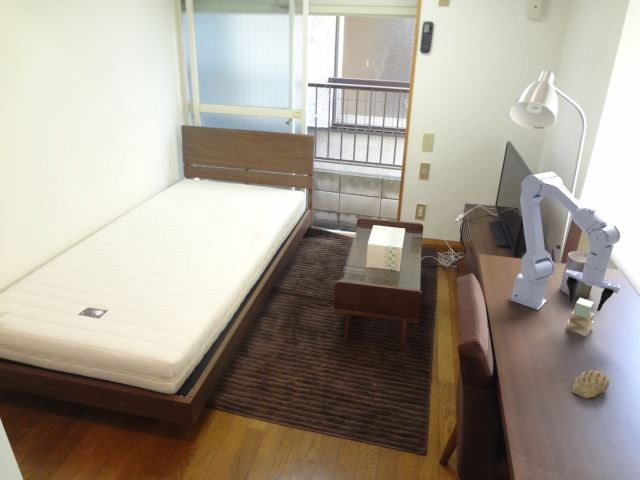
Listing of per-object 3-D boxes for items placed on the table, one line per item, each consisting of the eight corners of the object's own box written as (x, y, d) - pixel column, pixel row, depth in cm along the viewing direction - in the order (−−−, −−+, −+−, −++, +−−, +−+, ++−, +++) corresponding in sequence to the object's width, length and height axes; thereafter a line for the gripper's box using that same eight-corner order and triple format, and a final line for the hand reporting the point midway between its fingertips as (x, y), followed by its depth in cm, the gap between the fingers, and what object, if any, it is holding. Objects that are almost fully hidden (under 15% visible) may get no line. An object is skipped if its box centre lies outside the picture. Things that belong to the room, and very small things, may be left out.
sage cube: (573, 313, 148) (576, 302, 146) (576, 308, 151) (580, 297, 149) (587, 318, 145) (590, 307, 144) (590, 313, 148) (594, 302, 147)
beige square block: (569, 321, 149) (571, 313, 148) (574, 315, 153) (577, 307, 151) (586, 328, 146) (588, 319, 145) (591, 321, 149) (594, 313, 148)
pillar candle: (591, 289, 173) (601, 251, 167) (588, 301, 166) (599, 262, 160) (561, 282, 178) (570, 245, 172) (557, 293, 170) (566, 255, 164)
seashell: (601, 413, 122) (608, 379, 127) (606, 402, 118) (613, 367, 123) (568, 400, 125) (576, 368, 131) (571, 390, 121) (579, 357, 127)
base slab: (565, 330, 150) (567, 322, 149) (570, 322, 155) (572, 314, 153) (586, 337, 147) (588, 329, 146) (591, 329, 151) (593, 321, 150)
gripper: (565, 262, 143) (555, 301, 149) (620, 278, 134) (608, 319, 140) (572, 254, 148) (563, 293, 154) (626, 269, 139) (614, 309, 145)
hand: (585, 305), depth 147 cm, fingers open, 7 cm apart
